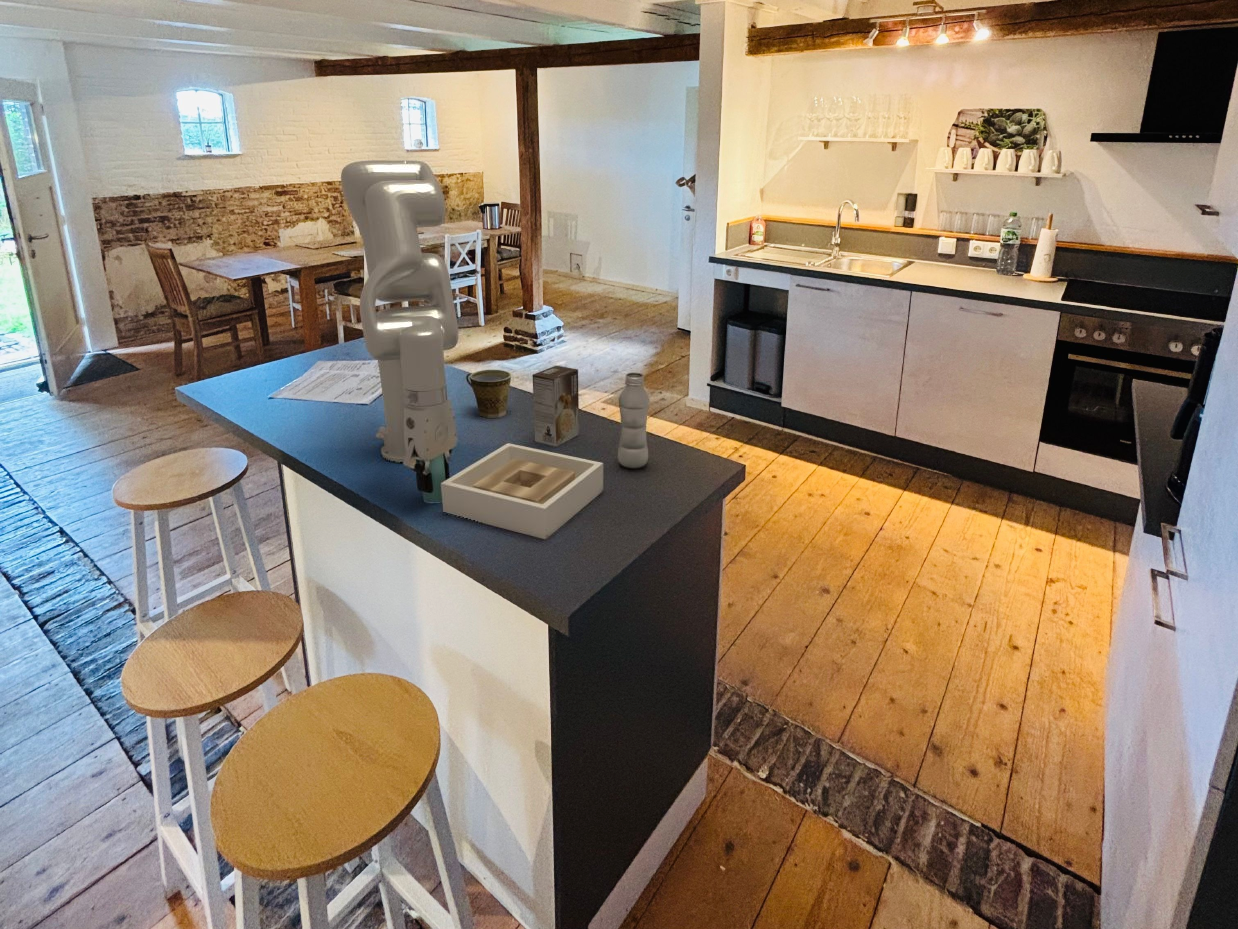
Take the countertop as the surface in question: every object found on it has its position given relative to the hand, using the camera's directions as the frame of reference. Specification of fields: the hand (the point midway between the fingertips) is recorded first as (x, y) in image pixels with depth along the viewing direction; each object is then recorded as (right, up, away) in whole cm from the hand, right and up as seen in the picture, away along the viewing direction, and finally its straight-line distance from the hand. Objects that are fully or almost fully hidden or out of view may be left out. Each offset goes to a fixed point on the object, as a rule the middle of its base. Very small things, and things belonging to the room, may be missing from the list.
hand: (434, 485), depth 145 cm
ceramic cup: (+2, +17, +46) cm, 49 cm away
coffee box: (+21, +10, +31) cm, 38 cm away
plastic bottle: (+38, +4, +17) cm, 42 cm away
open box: (+17, -3, +1) cm, 18 cm away
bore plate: (+17, -3, +1) cm, 18 cm away
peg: (0, -3, +1) cm, 3 cm away
